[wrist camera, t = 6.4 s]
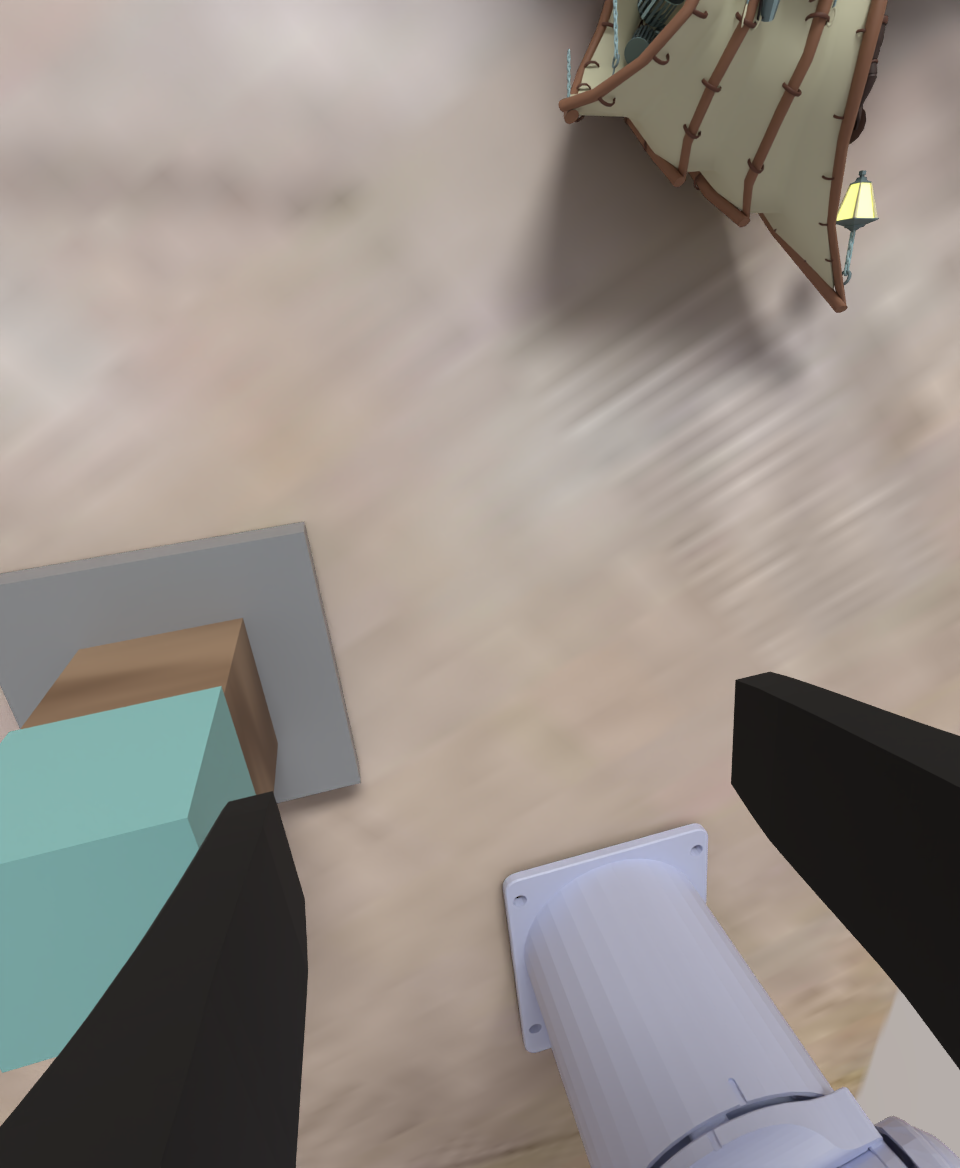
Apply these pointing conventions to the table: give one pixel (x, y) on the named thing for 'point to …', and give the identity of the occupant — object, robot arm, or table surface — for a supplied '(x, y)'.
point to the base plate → (185, 600)
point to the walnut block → (172, 684)
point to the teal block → (99, 850)
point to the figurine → (746, 109)
